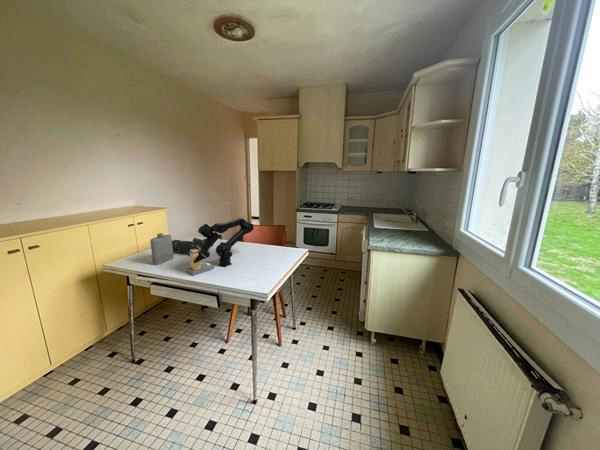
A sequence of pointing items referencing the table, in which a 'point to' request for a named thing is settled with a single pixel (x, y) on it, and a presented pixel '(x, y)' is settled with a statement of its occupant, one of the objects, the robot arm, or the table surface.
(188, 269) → the bar
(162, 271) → the table surface
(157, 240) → the flask
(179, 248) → the muzzle brake
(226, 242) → the robot arm
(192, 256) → the plug
